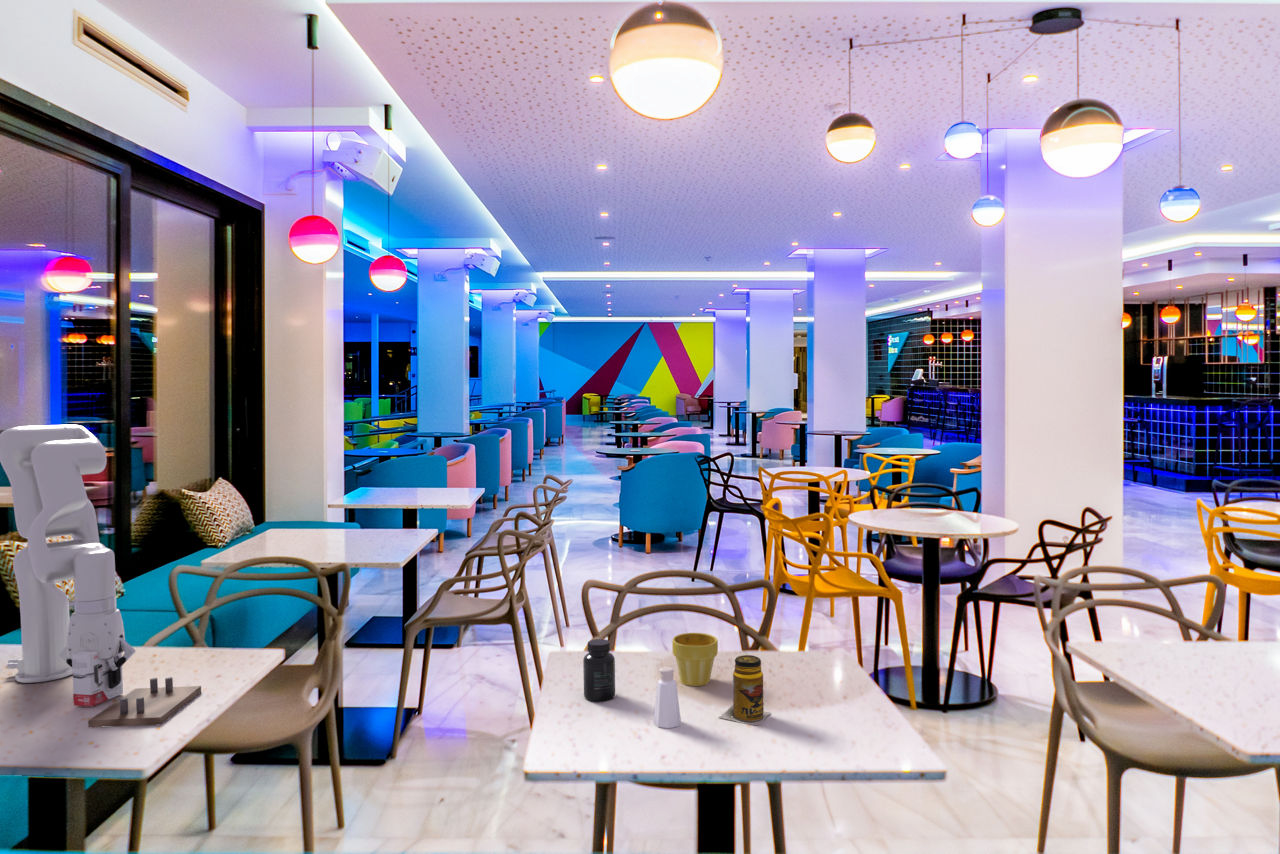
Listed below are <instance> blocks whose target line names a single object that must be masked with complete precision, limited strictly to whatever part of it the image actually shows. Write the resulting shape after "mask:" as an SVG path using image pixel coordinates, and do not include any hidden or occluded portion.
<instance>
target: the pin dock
mask: <svg viewBox="0 0 1280 854" xmlns="http://www.w3.org/2000/svg"><path fill="white" fill-rule="evenodd" d="M173 679H174V678H173V677H171V676H169V677H166V678H164V680H165V683H164V684H165V687H158V678H157V677H151V678H150V679H149V685H150V686H149V687H142V688H135V689H133V690H131V691H130V692H129V693H127V694H126V695H124V696H123V697H120V698H119V699H118V700H117V701H115V702H113V703H112V704H111V705H109V706H107V707H106V708H105V709H103V710H101V711H100V712H99V713H97V714H95V715H94V716H93V717H91V718H89V719H88V721H87V723H88V728H89V727H93V728H103V727H102V726H116V727H134V726H138V725H139V726H156V724H161V725H163V724H164V723H165V722H166V721H168V718H169V717H170V718H172V716H174V715H175V714H176V713H178V712H179V711H180V710H181V709H182V708H183V706H184V705H185V706H187V705H188V704H189V703H190V702H191V701H193V698H194V697H195V696H196V697H197V696H198V694H199V693H200V694H202V686H201V685H190V686H189V685H188V686H174V683H173V682H174V681H173ZM200 694H199V695H200ZM196 697H195V698H196ZM195 698H194V699H195ZM190 700H191V701H190ZM189 701H190V702H189ZM188 702H189V703H188ZM185 706H184V707H185ZM181 707H182V708H181ZM180 708H181V709H180ZM179 709H180V710H179ZM178 710H179V711H178ZM174 713H175V714H174ZM173 714H174V715H173ZM170 718H169V719H170ZM163 722H164V723H163Z"/></svg>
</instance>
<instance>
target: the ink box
mask: <svg viewBox="0 0 1280 854" xmlns="http://www.w3.org/2000/svg"><path fill="white" fill-rule="evenodd" d="M122 654H123V652H122V653H119V655H120V657H122V656H123V655H122ZM72 670H73V674H72V693H73V694H72V697H73V700H72V701H73V706H75V707H76V706H77V707H86V708H87V707H88V708H89V707H90V708H93V707H95V706H98V705H100V704H103V703H105V702H106V701H109V700H111V699H114V698H115V697H119V696H120V695H123V693H124V689H123V688H124V687H123V686H124V682H123V681H124V680H123V666H121V681H120V684H119V685H117V686H116V687H114V688H113V689H110V688H109V682H108V672H109V671H110V670H111V668H110V666H109V663H108V661H107V659H105V660H99V659H98V652H85V651H74V653H72Z"/></svg>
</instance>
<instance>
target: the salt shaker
mask: <svg viewBox="0 0 1280 854" xmlns="http://www.w3.org/2000/svg"><path fill="white" fill-rule="evenodd" d="M674 672H675V669H674V668H673V667H670V666H663V667H660V668H659V677H660V678H659V680H657V682H656V683H657V685H656V694H655V695H656V696H655V706H654V715H653V724H654V725H655V726H656V727H658V728H662V729H673V728H678V726H680V724H681V723H682V719H681V718H682V717H681V712H680V709H681V708H680V703H679V693H678V685H677V681H676V680H675V679H674Z"/></svg>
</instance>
